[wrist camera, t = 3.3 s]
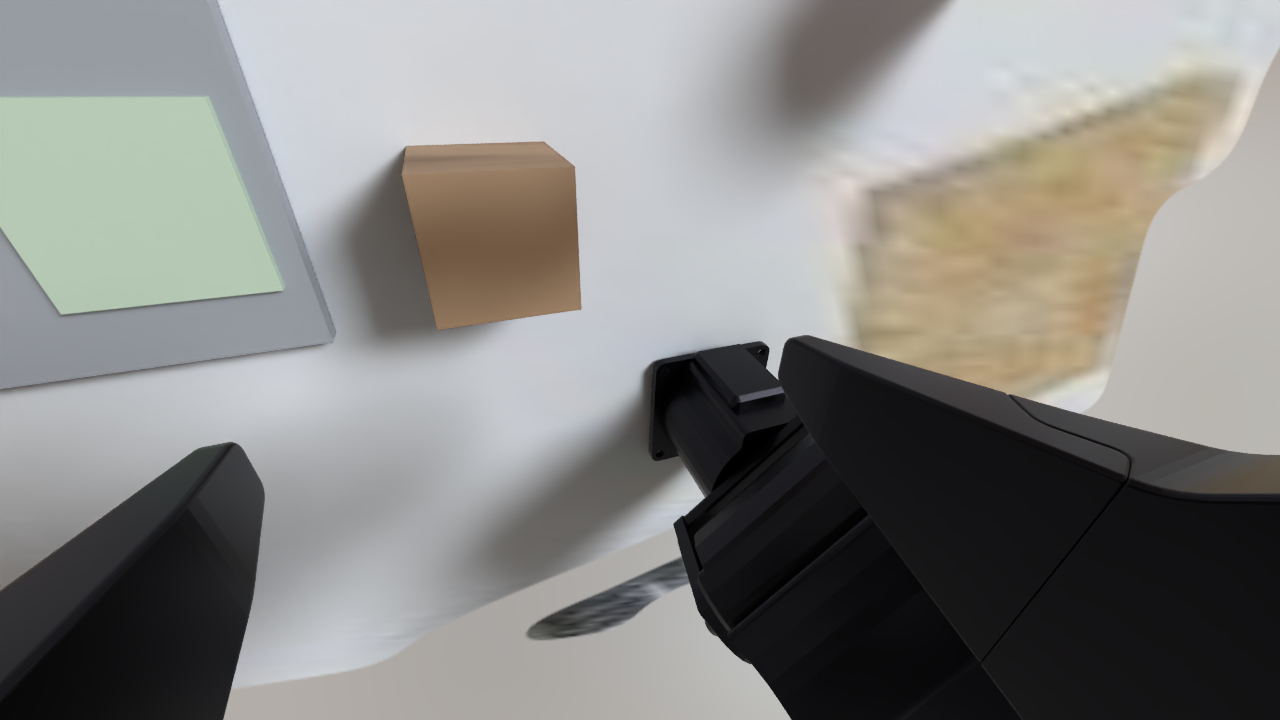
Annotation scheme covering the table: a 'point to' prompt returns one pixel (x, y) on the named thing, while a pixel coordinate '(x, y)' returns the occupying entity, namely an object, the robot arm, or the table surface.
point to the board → (139, 196)
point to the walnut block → (494, 230)
